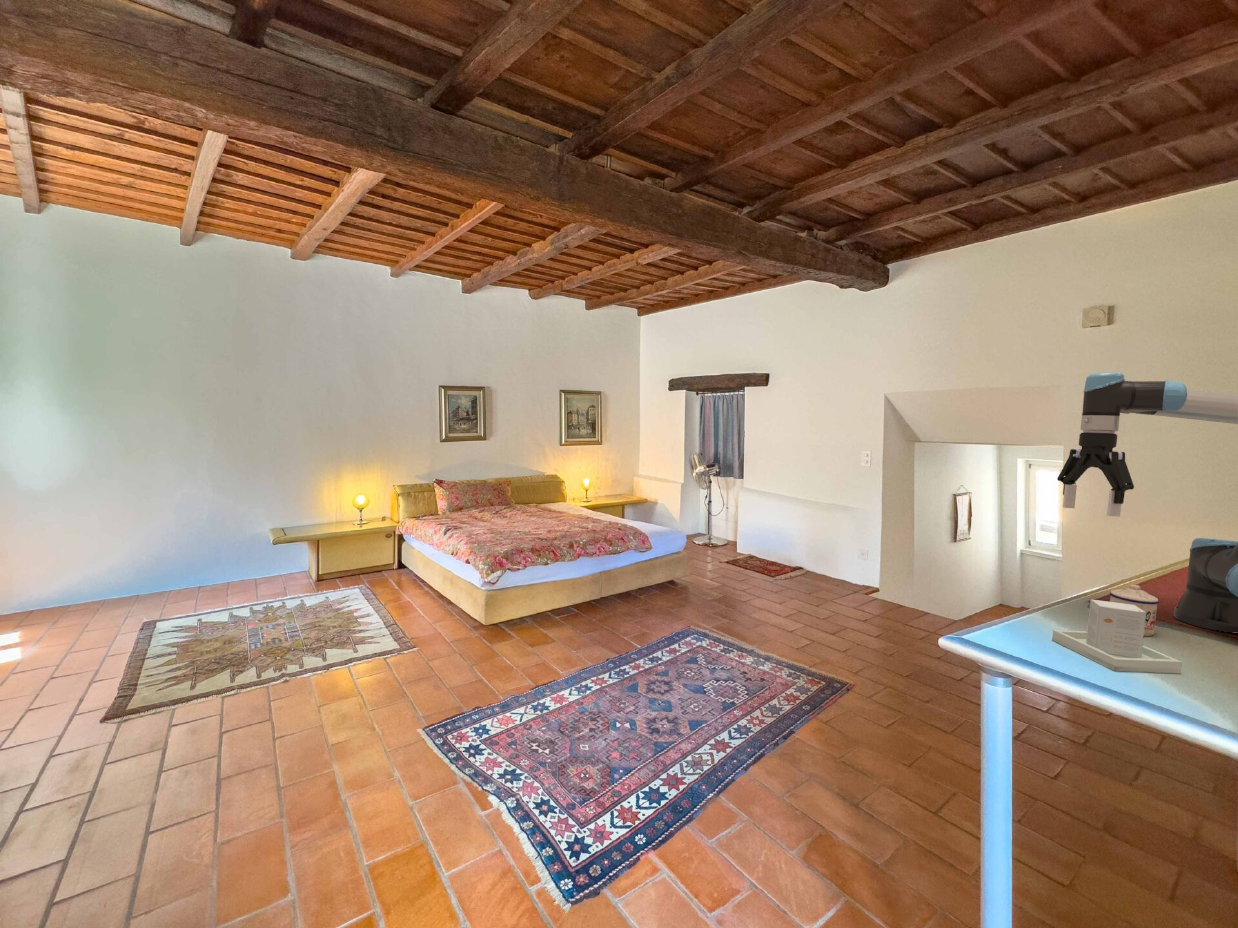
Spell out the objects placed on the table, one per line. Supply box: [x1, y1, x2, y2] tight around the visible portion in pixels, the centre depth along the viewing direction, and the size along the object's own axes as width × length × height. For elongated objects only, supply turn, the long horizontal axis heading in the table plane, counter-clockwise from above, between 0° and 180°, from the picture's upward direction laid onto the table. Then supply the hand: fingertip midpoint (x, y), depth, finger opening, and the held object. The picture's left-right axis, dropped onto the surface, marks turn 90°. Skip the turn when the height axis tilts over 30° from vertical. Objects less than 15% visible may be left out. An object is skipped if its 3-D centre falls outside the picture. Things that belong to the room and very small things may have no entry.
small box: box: [1086, 599, 1146, 658], centre depth 120 cm, size 8×6×10 cm
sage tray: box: [1051, 629, 1183, 674], centre depth 121 cm, size 14×16×2 cm
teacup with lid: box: [1109, 583, 1160, 637], centre depth 139 cm, size 12×9×12 cm
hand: (1089, 511), depth 145 cm, fingers open, 13 cm apart
